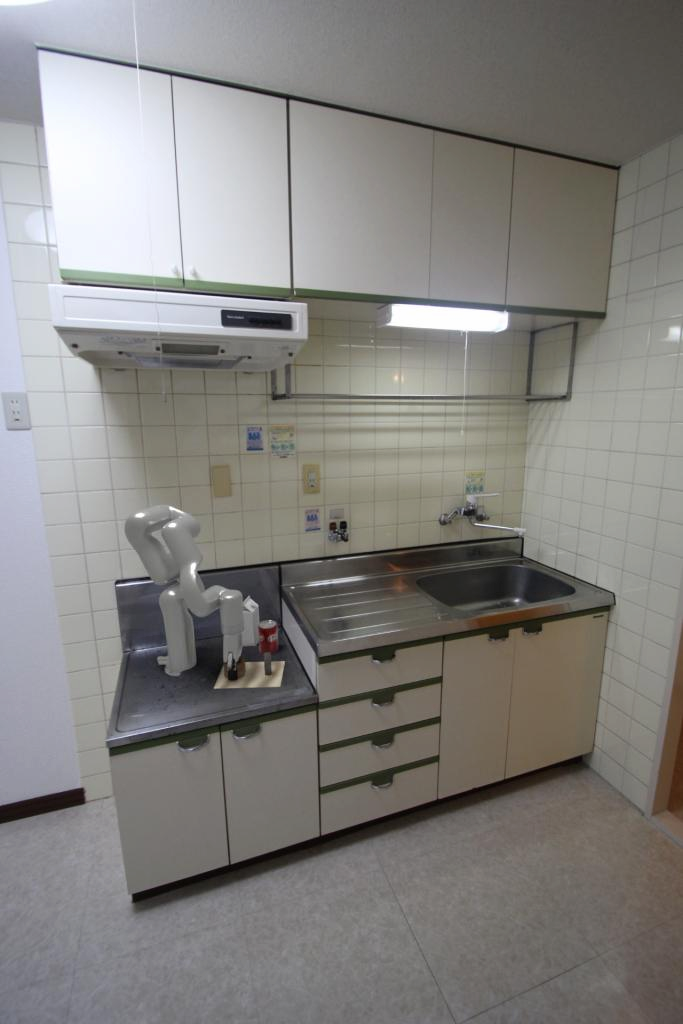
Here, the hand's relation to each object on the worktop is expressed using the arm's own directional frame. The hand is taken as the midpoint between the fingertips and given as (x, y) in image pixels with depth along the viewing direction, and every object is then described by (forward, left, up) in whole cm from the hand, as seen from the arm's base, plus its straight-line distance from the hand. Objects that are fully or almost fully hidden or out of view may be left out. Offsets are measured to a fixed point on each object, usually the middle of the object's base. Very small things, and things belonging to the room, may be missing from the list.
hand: (235, 673), depth 162 cm
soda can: (+9, +17, -2) cm, 19 cm away
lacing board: (+5, 0, -2) cm, 6 cm away
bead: (0, 0, 0) cm, 0 cm away
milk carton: (0, +25, -2) cm, 25 cm away
